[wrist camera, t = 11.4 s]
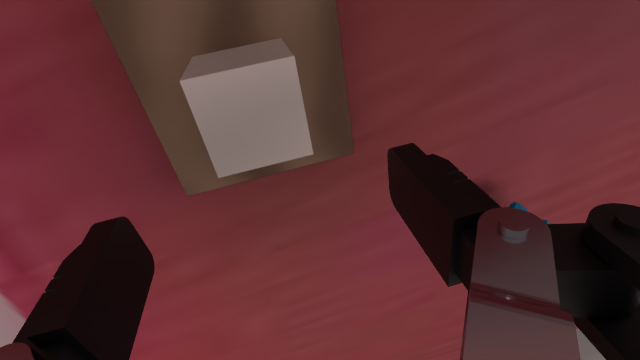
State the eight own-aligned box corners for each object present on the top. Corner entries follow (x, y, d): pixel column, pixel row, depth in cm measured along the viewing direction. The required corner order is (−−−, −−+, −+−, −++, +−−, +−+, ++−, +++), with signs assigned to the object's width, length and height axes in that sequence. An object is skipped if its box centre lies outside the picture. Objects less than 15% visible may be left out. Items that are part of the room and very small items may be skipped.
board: (323, -46, 18) (347, -53, 14) (348, 144, 25) (369, 175, 21) (101, -3, 17) (60, 3, 13) (189, 184, 24) (180, 226, 20)
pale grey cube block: (281, 37, 18) (294, 55, 14) (298, 119, 21) (313, 154, 17) (192, 56, 18) (179, 81, 14) (221, 137, 21) (218, 178, 16)
